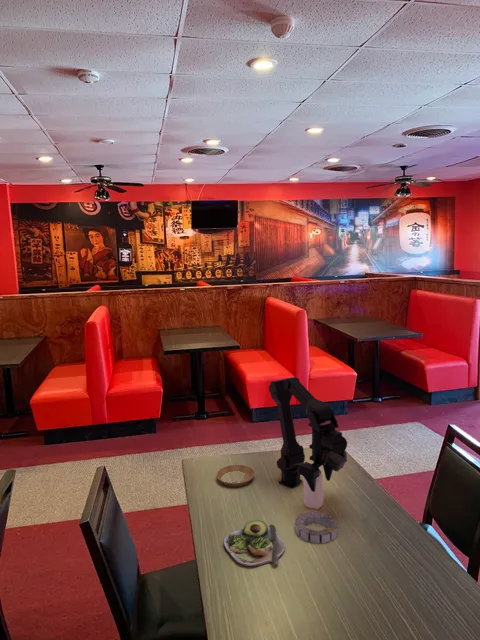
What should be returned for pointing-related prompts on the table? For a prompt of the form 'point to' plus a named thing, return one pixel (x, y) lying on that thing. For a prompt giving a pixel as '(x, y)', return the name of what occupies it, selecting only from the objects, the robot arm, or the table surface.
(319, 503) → the can
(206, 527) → the table surface
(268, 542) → the avocado toast plate
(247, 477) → the plant saucer
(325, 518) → the toothed ring
